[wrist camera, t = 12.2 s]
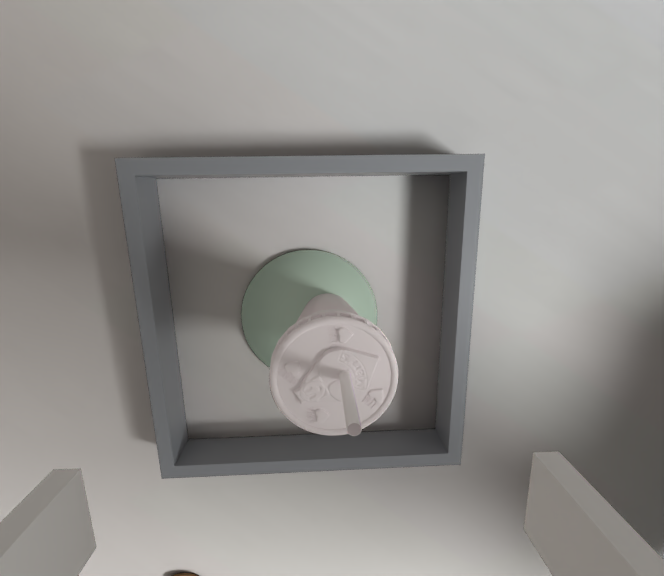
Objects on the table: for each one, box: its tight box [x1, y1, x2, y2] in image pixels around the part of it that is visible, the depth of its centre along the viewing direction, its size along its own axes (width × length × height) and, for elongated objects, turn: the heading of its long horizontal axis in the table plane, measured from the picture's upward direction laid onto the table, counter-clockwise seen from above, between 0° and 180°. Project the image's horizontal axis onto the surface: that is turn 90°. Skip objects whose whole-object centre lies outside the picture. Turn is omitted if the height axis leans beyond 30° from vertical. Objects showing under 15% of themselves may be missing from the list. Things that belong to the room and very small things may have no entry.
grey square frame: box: [115, 154, 485, 479], centre depth 26 cm, size 22×22×3 cm
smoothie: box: [269, 293, 398, 436], centre depth 20 cm, size 6×6×14 cm
